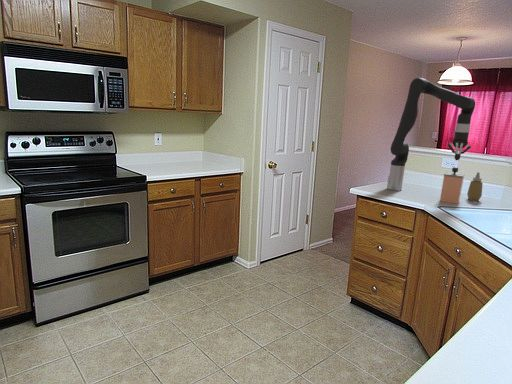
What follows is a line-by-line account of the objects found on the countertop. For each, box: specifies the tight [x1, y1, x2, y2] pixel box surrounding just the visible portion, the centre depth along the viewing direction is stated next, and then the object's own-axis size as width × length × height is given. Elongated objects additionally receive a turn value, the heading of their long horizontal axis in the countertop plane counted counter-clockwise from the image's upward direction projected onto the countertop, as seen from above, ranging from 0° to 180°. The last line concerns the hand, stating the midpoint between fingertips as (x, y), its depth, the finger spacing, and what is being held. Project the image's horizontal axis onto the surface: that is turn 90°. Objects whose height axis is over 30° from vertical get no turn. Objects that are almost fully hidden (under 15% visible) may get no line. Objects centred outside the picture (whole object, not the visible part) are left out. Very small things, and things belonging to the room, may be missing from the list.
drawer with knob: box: [443, 166, 465, 178], centre depth 227 cm, size 10×10×20 cm
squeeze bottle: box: [466, 172, 483, 202], centre depth 234 cm, size 8×8×18 cm
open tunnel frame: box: [439, 174, 465, 205], centre depth 228 cm, size 10×10×16 cm
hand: (456, 160), depth 224 cm, fingers closed
